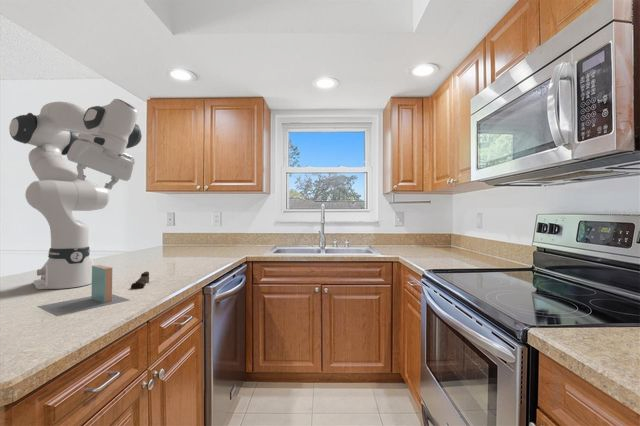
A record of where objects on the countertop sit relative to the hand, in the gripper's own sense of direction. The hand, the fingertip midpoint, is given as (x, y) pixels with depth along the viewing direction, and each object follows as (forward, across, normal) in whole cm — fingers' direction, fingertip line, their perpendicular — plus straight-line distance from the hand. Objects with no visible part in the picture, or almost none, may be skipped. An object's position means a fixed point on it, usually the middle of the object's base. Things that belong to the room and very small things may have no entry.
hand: (94, 184), depth 104 cm
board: (+35, +1, +18) cm, 40 cm away
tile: (+33, -2, +18) cm, 38 cm away
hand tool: (+32, -24, +10) cm, 41 cm away
